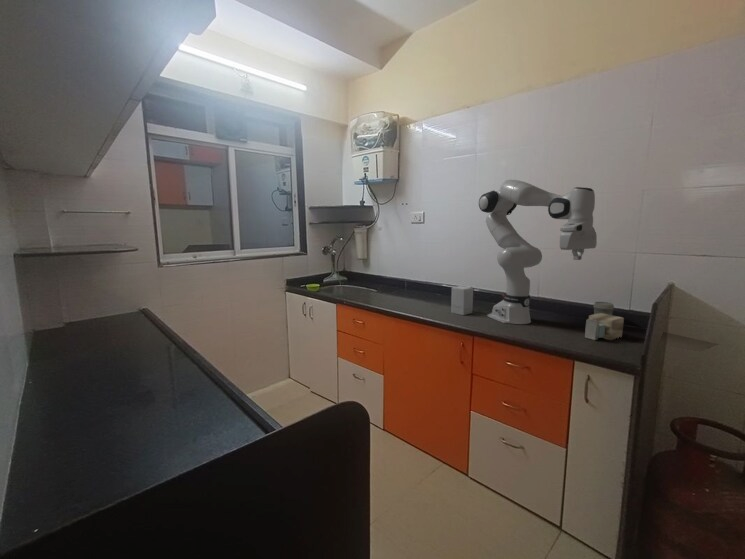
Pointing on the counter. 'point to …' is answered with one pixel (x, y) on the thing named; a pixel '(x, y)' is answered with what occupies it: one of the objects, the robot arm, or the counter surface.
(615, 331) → the block
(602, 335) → the pale teal block
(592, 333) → the grey elongated piece
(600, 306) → the coffee cup
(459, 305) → the supplement box
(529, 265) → the robot arm
